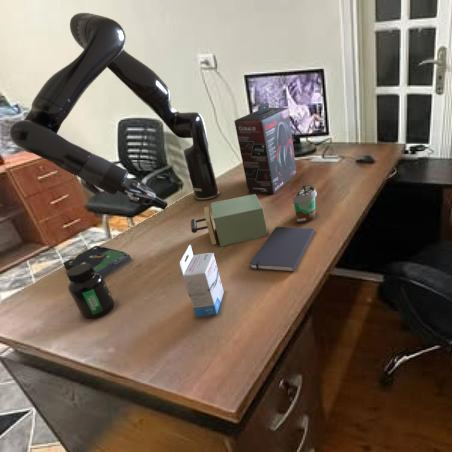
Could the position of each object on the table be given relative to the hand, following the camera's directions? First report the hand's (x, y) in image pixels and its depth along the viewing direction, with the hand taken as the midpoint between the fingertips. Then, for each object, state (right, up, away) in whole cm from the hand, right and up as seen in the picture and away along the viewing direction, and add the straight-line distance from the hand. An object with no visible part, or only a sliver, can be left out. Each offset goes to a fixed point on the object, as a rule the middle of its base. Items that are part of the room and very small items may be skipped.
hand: (166, 206), depth 102 cm
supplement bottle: (-7, -26, -18) cm, 33 cm away
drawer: (+14, -8, +10) cm, 19 cm away
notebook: (+35, -13, +1) cm, 37 cm away
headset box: (+23, +13, +50) cm, 56 cm away
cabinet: (+19, -8, +12) cm, 24 cm away
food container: (+41, -3, +18) cm, 45 cm away
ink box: (+20, -25, -19) cm, 37 cm away
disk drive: (-19, -17, 0) cm, 26 cm away
